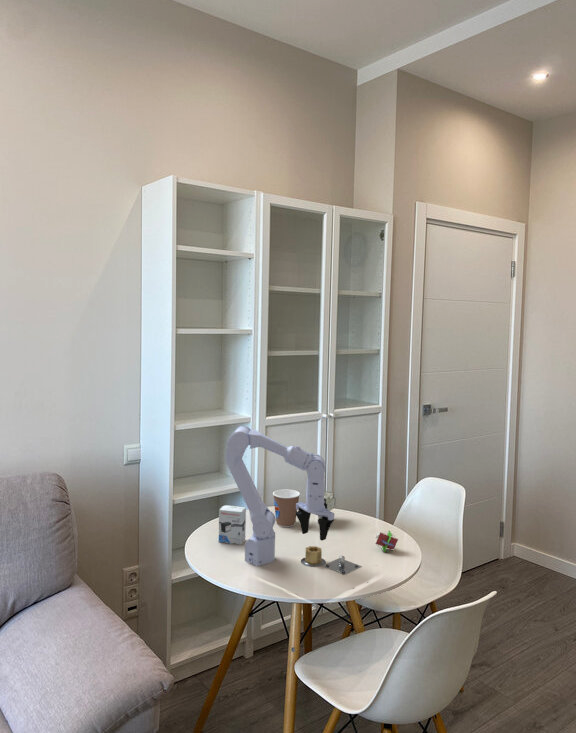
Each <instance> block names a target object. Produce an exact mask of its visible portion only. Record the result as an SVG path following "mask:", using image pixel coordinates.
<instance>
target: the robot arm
mask: <svg viewBox="0 0 576 733" xmlns="http://www.w3.org/2000/svg"><path fill="white" fill-rule="evenodd" d="M248 446H249V449H256V448H259V447H260V448H262V449H264V450H267V451H269V452H271V453H274V454H275V455H279V456H281V457H283V460H284V461H285V463H287V464H289V465H291V466H293V467H295V468H297V469H300V470H302V471H305V472H306V474H307V479H306V484H305V485H306V490H305V502H300V501H298V503H296V509H297V512H296V519H297V520H298V522H299V524H300V529H301V533H302V534H303V535H304V534H305V535H306V534H307V533H309V527H310V518H311V514H312V515H315V516H317V517H318V516H321V517H322V518H321V519H318V518H317V523H318V527H319V540H320V541H325V540H327V537H328V533H329V530H330V528H331V526H332V525H333V524H332V523H333V522H334V521H335V512H332V510H331V511H329V510H327V509H326V508H325V506H324V491H325V484H326V481H325V477H326V476H325V472H326V461H325V459H324V458H323V457H322V456H321V455H319V454H315V453H313V452H311V453H310V452H308V451H306V450H304V449H302V448H301V446H300V445H297V444H296V446H295V445H291V446H286V445H284V444H283V443H280V442H279V441H277V440H276V439H274V438H271V437H269V436H267V435H266V434H264V433H261V432H260V431H259V430H257V429H254V428H250V427H249V426H245V425H241V426H238V427H237V428H236V429H235V430H234V432H233V433H231V434H230V436H229V438H228V439H227V442H226V450H225V451H226V452H225V463H226V465H227V468H228V469H229V471H230V474H231V475H232V478H233V480H234V482H235V483H236V486H237V488H238V490H239V493H240V494H241V496H242V499H243V501H244V503H245V505H246V507H247V509H248V511H249V517H250V518H249V519H250V521H251V524H252V535H251V536H250V538H248V539H247V540H245V543H244V561H245V562H246V563H248V564H251V565H253V566H256V567H260V566H262V565H265V564H270V563H273V562H274V561H275V558H276V557H275V555H276V532H275V530H274V526H275V524H276V516H275V513H274V512H273V511H271V510H270V509H269V508H268V506H267V504H266V503H264V501H263V500H262V497H261V496H260V495H261V494H259V491H258V489H257V487H256V484H255V482H254V481H253V478H252V476H251V474H250V472H249V470H248V468H247V466H246V464H245V463H244V460H243V457H244V454H245V452H246V449H247V448H248Z"/></svg>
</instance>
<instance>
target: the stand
mask: <svg viewBox="0 0 576 733" xmlns="http://www.w3.org/2000/svg"><path fill="white" fill-rule="evenodd" d="M300 563H301V564H302V565H303V566H306V567H310V568H319V567H323V565H325V564H327V561H326V560H325V559H324V558H322V557H321V563H320V564H318V565H310V564H307V563H306V562H305V557H303V558H302V559H300Z"/></svg>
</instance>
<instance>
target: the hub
mask: <svg viewBox="0 0 576 733" xmlns="http://www.w3.org/2000/svg"><path fill="white" fill-rule="evenodd" d="M322 567H323V568H326V569H328V570H331V571H333V572H335V573H337V574H341V575H343V576H345V575H348V574H349V573H350V574H351V573H352V572H354V571H356V570H358V569H361V568H362V565H359V564H358V563H357V564H356V563H354V562H351V561H348V560H347V559H346V556H344V555H340V556H339V558H337V559H334V560H332V561H329V562H326V563H325V565H323V566H322Z"/></svg>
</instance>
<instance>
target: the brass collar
mask: <svg viewBox="0 0 576 733" xmlns="http://www.w3.org/2000/svg"><path fill="white" fill-rule="evenodd" d="M322 551H323V550H322V547H319V546H315V545H314V546H312V545H311V546H307V547H305V554H304V556H305V557H304V558H305V562H306V563H307V564H310V565H318V564H320V563H321V558H322Z"/></svg>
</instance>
